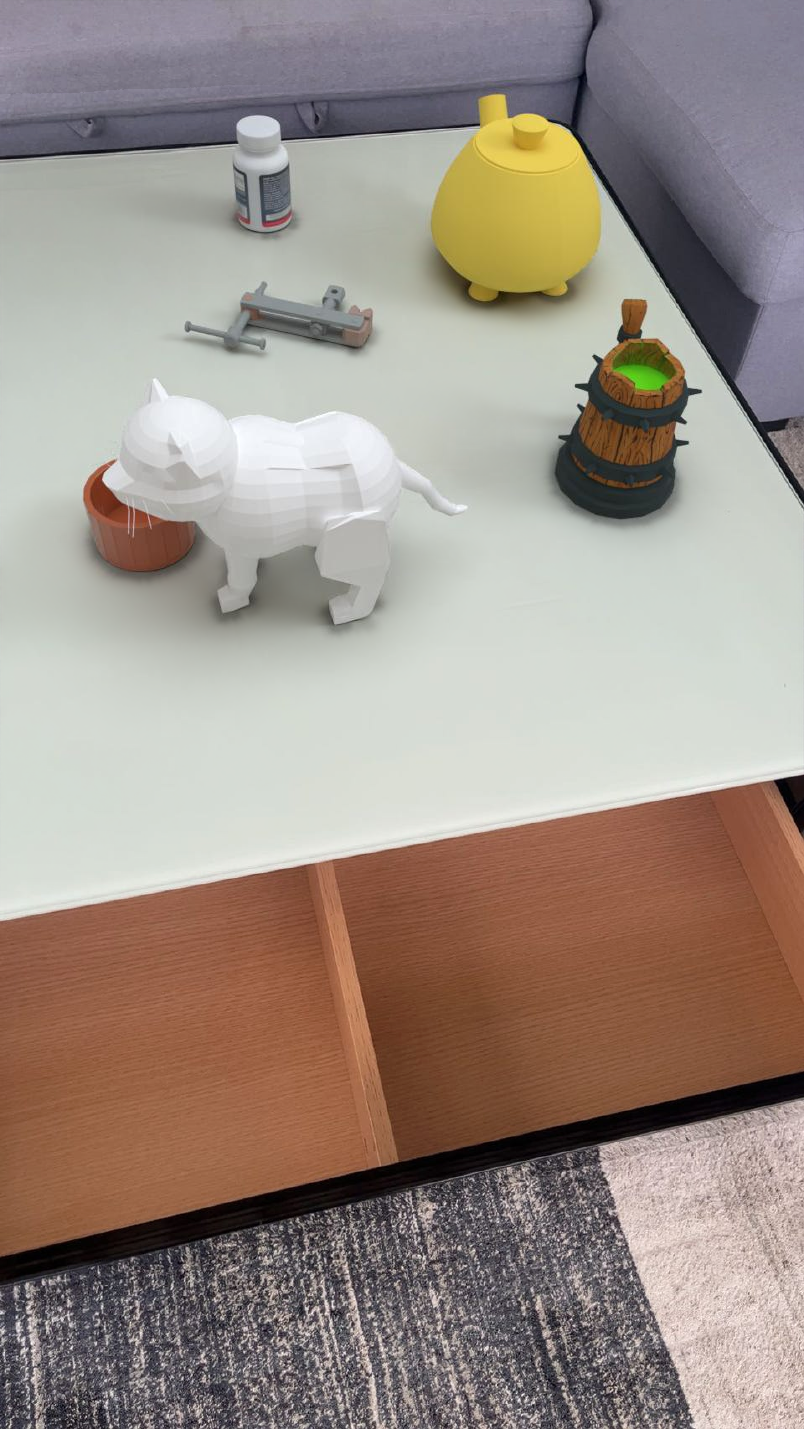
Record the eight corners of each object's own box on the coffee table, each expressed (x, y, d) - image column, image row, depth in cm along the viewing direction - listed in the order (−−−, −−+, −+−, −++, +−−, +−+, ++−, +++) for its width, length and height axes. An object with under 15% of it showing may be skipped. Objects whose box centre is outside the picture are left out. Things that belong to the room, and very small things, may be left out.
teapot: (404, 203, 107) (412, 55, 95) (553, 194, 109) (578, 49, 97) (447, 325, 96) (461, 175, 84) (611, 312, 98) (647, 164, 87)
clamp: (382, 289, 94) (349, 356, 89) (381, 310, 96) (349, 378, 91) (222, 256, 96) (180, 320, 91) (225, 278, 98) (184, 342, 92)
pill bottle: (298, 209, 105) (295, 116, 98) (282, 238, 102) (278, 145, 95) (246, 200, 105) (240, 107, 98) (230, 228, 103) (221, 135, 95)
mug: (685, 524, 83) (730, 404, 73) (555, 518, 82) (583, 398, 73) (663, 413, 90) (702, 292, 81) (544, 408, 90) (568, 285, 80)
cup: (80, 562, 78) (67, 518, 74) (114, 492, 82) (103, 447, 78) (178, 579, 77) (170, 535, 73) (207, 508, 81) (201, 463, 78)
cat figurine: (439, 499, 83) (459, 312, 69) (483, 598, 77) (513, 416, 64) (116, 557, 78) (68, 368, 64) (138, 667, 73) (91, 486, 59)
